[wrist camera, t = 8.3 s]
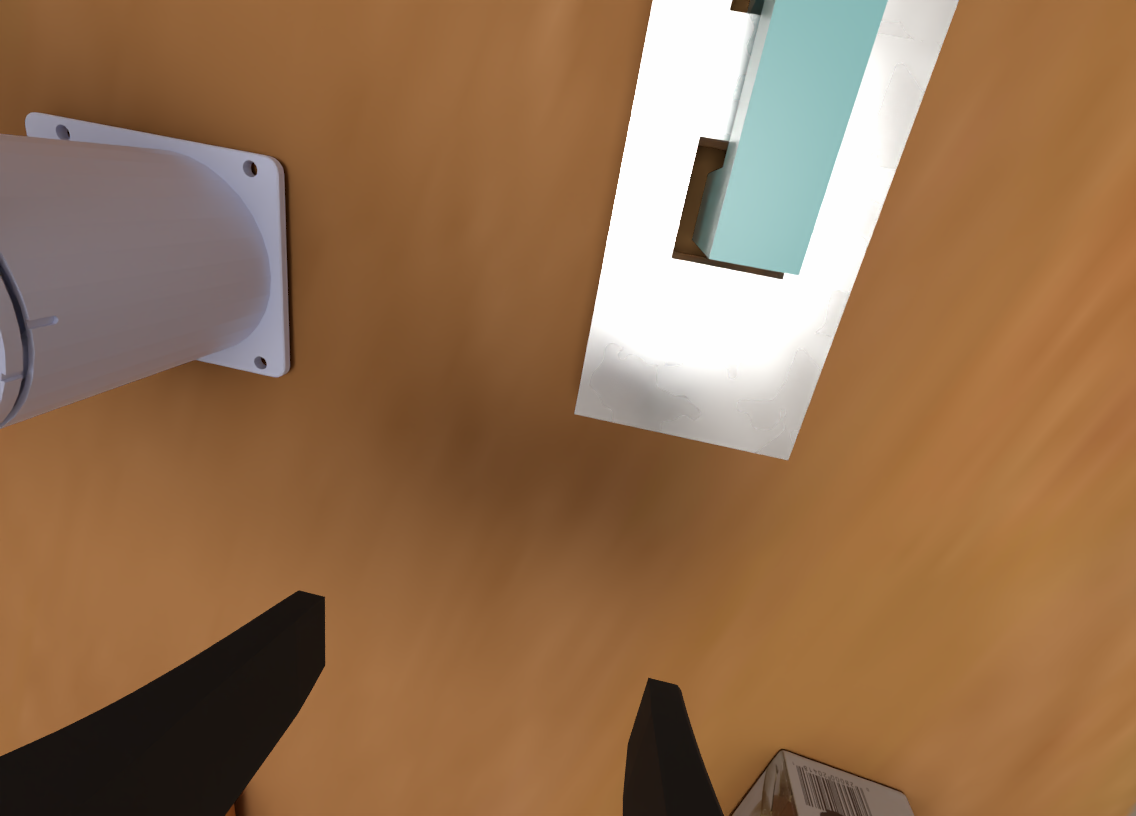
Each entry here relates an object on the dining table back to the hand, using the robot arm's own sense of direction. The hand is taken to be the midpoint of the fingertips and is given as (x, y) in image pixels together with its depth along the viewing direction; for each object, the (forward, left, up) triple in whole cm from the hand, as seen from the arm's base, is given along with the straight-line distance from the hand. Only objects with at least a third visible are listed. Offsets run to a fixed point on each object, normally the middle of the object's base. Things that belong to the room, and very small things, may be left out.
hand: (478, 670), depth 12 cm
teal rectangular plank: (+4, +13, -10) cm, 17 cm away
